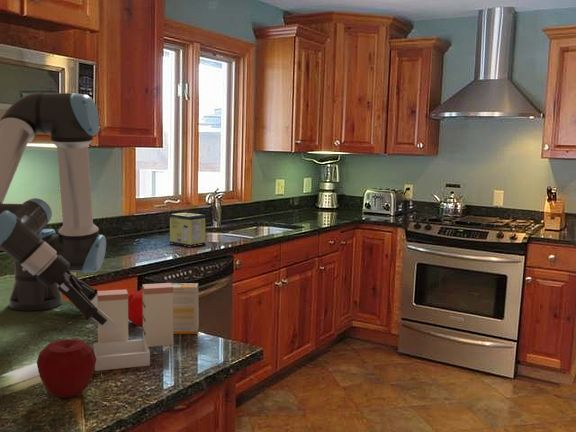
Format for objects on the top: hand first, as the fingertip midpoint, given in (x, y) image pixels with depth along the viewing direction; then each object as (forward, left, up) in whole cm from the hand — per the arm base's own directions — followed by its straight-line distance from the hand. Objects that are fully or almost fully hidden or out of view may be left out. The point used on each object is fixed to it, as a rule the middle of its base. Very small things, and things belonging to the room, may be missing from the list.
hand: (113, 322), depth 143 cm
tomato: (-19, +7, -7) cm, 21 cm away
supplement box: (-11, +17, -7) cm, 21 cm away
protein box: (-150, +18, -7) cm, 151 cm away
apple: (+27, -6, -7) cm, 29 cm away
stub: (0, 0, -7) cm, 7 cm away
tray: (+9, +3, -6) cm, 11 cm away
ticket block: (-2, +11, -6) cm, 13 cm away
